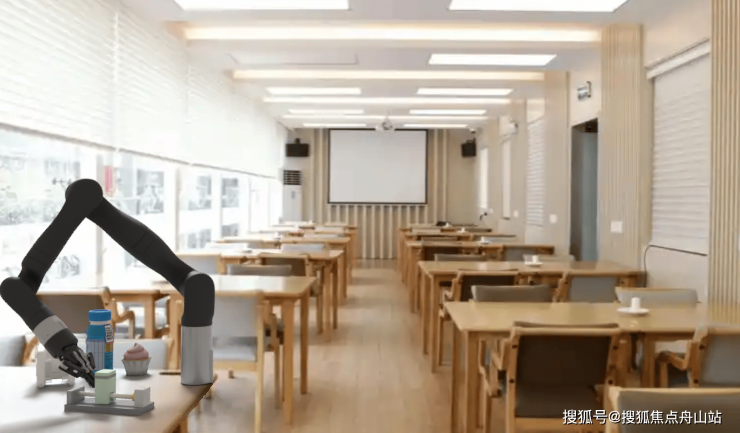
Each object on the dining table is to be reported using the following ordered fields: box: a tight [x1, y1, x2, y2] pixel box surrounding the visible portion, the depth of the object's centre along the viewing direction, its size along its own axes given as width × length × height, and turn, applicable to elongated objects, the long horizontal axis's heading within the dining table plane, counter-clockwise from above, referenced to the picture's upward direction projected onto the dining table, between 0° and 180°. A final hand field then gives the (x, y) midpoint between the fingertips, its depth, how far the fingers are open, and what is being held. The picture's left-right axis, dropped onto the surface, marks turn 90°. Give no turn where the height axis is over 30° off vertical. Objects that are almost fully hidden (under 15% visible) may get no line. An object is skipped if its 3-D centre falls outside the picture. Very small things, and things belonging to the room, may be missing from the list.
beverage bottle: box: [84, 308, 115, 374], centre depth 236 cm, size 8×8×20 cm
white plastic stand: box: [34, 342, 76, 389], centre depth 223 cm, size 15×11×12 cm
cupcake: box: [120, 342, 152, 377], centre depth 237 cm, size 9×9×10 cm
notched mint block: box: [94, 369, 117, 404], centre depth 195 cm, size 4×4×8 cm
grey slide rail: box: [63, 385, 155, 416], centre depth 195 cm, size 21×8×6 cm, turn 78°
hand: (97, 385), depth 196 cm, fingers closed
